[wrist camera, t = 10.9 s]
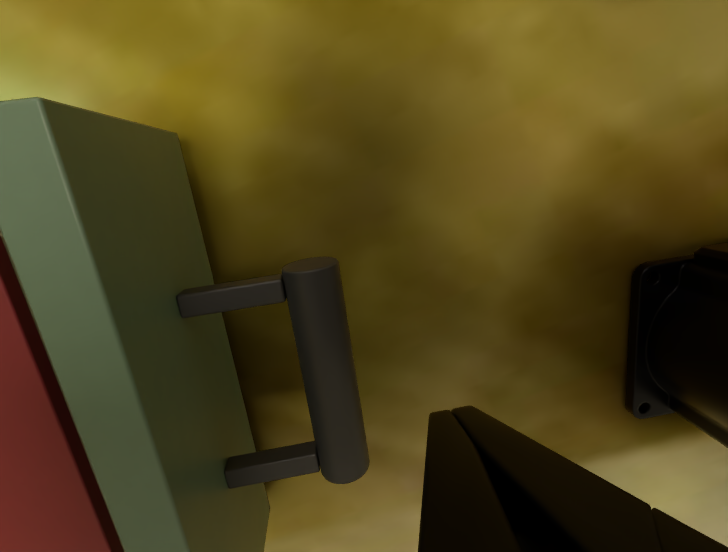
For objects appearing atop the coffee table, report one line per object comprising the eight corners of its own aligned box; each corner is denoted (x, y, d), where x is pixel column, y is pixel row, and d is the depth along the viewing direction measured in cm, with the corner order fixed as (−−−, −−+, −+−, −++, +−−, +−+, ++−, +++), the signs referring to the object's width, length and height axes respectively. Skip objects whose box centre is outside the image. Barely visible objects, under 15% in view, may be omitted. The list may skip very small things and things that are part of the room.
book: (183, 501, 13) (136, 615, 10) (9, 535, 13) (-102, 666, 9) (91, 215, 11) (-16, 237, 7) (-131, 247, 10) (-354, 286, 7)
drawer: (314, 114, 12) (310, 62, 6) (372, 487, 15) (404, 672, 10) (-352, 200, 10) (-1147, 237, 5) (-115, 584, 14) (-405, 860, 8)
